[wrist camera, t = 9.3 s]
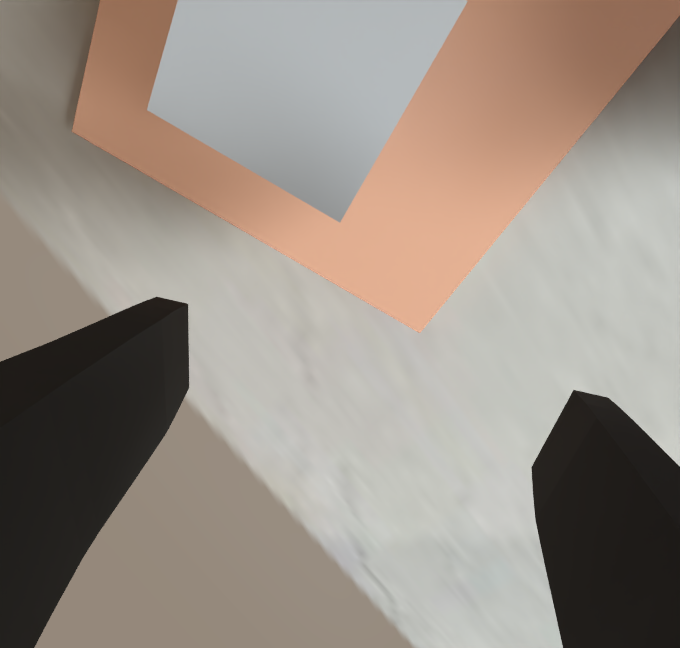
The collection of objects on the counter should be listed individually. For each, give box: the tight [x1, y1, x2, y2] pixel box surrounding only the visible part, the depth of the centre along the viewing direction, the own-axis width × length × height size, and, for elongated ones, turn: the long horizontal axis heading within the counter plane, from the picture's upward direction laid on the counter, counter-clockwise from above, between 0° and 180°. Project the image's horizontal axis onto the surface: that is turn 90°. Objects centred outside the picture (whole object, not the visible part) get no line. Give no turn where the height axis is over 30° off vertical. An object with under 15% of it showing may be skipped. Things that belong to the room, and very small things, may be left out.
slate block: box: [147, 0, 468, 222], centre depth 11 cm, size 4×4×7 cm
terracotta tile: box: [72, 0, 680, 333], centre depth 14 cm, size 14×13×1 cm
